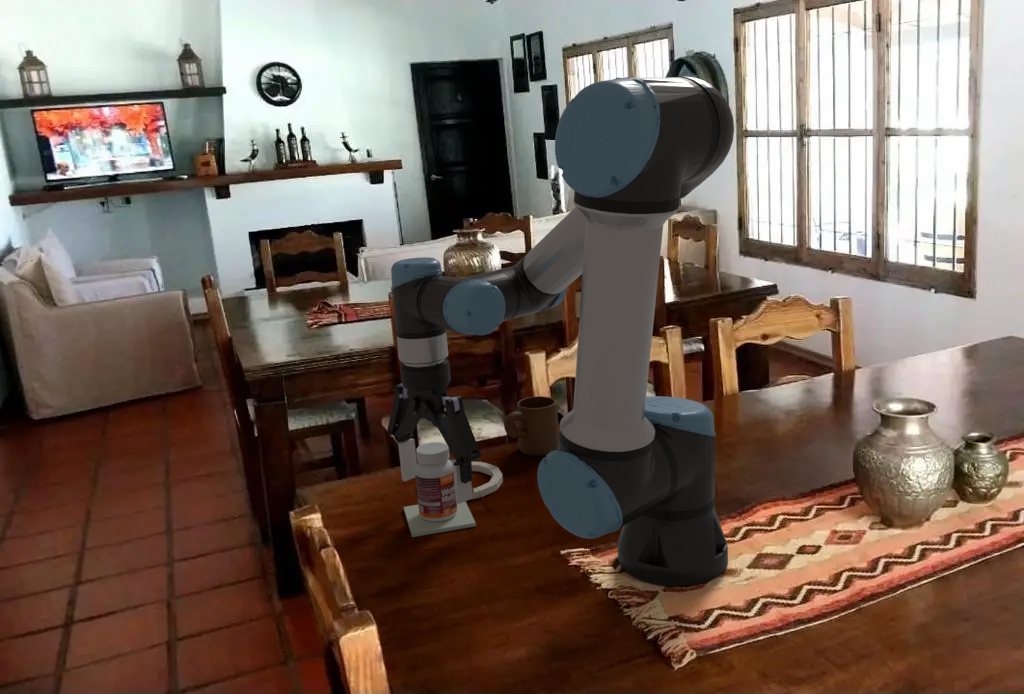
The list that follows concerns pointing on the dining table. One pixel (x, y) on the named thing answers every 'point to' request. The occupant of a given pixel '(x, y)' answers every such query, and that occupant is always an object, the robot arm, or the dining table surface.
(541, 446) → the mug
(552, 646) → the dining table surface
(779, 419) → the dining table surface
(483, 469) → the collar
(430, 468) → the pill bottle
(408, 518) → the coaster
